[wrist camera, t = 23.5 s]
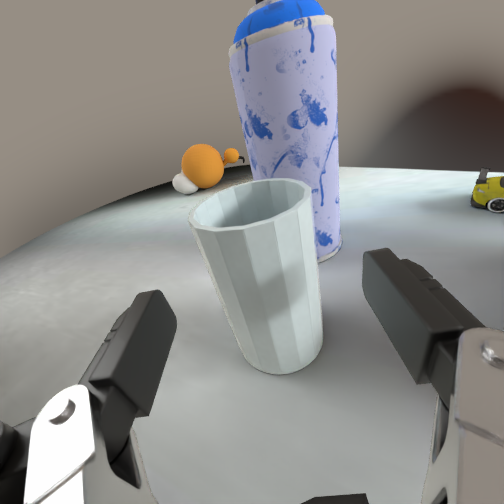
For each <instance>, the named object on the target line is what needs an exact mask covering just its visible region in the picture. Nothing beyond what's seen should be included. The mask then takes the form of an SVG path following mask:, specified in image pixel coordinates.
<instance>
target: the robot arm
mask: <svg viewBox="0 0 504 504" xmlns="http://www.w3.org/2000/svg"><path fill="white" fill-rule="evenodd" d="M362 287H363V292H364V295H365V297H366V300H367V301H368V303H369V305H370V306H371V308H372V310H373V311H374V313H375V315H376V316H377V318H378V320H379V322H380V323H381V325H382V327H383V328H384V330H385V332H386V333H387V335H388V337H389V338H390V340H391V342H392V343H393V345H394V347H395V348H396V350H397V352H398V354H399V355H400V357H401V359H402V360H403V362H404V364H405V365H406V367H407V369H408V370H409V372H410V374H411V375H412V377H413V379H414V381H415V382H416V384H426V383H432V385H433V387H434V388H435V390H436V391H437V393H438V394H437V398H436V405H435V414H434V422H433V431H432V439H431V448H430V456H429V464H428V470H427V474H426V478H425V482H424V487H423V492H422V498H421V504H504V332H503V331H500V330H496V329H492V328H486V327H485V326H484V325H483V324H482V323H481V322H480V321H479V320H478V319H477V318H476V317H475V316H473V315H472V314H471V313H470V312H469V311H468V310H467V309H466V308H465V307H464V306H463V305H462V304H461V303H460V302H459V301H458V300H457V299H456V298H455V297H454V296H452V295H451V294H450V293H449V292H448V291H447V290H446V289H445V288H443V287H442V285H441V284H440V283H439V282H438V281H437V280H436V279H433V276H432V275H430V274H429V273H428V272H427V271H426V270H425V269H424V268H423V267H422V266H420V265H418V264H416V263H414V262H412V261H410V260H408V259H402V260H400V259H399V258H398V257H397V256H396V255H395V254H394V253H393V252H392V251H391V250H390V249H388V248H383V249H378V250H372V251H367V252H365V253H364V255H363V274H362ZM176 329H177V320H176V316H175V314H174V312H173V310H172V309H171V307H170V305H169V303H168V302H167V300H166V298H165V297H164V295H163V293H162V292H161V291H160V290H153V291H147V292H142V293H139V294H138V295H137V296H136V298H135V299H134V301H133V303H132V305H131V306H130V307H129V308H128V309H127V310H126V311H125V312H124V313H123V314H122V315H121V316H120V317H119V318H118V319H117V320H116V322H115V323H114V325H113V327H112V328H111V330H110V331H111V332H110V333H108V335H107V337H106V338H105V340H104V341H105V342H104V343H102V345H101V347H100V348H99V350H98V352H97V353H96V355H95V356H94V358H93V360H92V361H91V363H90V365H89V366H88V368H87V370H86V371H85V373H84V375H83V376H82V378H81V380H80V381H79V383H78V384H77V385H74V386H71V387H69V388H67V389H65V390H63V391H61V392H60V393H58V394H57V395H56V396H55V397H53V398H52V399H51V400H50V401H49V402H48V403H47V404H46V405H45V406H44V407H43V409H42V410H41V411H40V412H39V414H38V416H37V417H34V418H32V419H30V420H28V421H26V422H23V423H21V424H19V425H17V426H15V427H10V426H9V425H7V424H5V423H3V422H2V421H0V504H158V502H157V500H156V499H155V498H154V496H153V494H152V492H151V490H150V487H149V483H148V480H147V476H146V472H145V468H144V465H143V461H142V457H141V453H140V449H139V446H138V442H137V438H136V434H135V431H134V429H133V428H132V424H133V421H134V419H135V418H137V417H145V416H149V414H150V411H151V408H152V405H153V402H154V398H155V395H156V392H157V389H158V386H159V383H160V380H161V377H162V373H163V370H164V367H165V364H166V361H167V358H168V355H169V351H170V348H171V345H172V342H173V339H174V336H175V333H176ZM301 504H369V503H368V500H367V497H366V493H363V494H350V495H337V496H323V497H314V498H312V499H310V500H308V501H306V502H303V503H301Z"/></svg>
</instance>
